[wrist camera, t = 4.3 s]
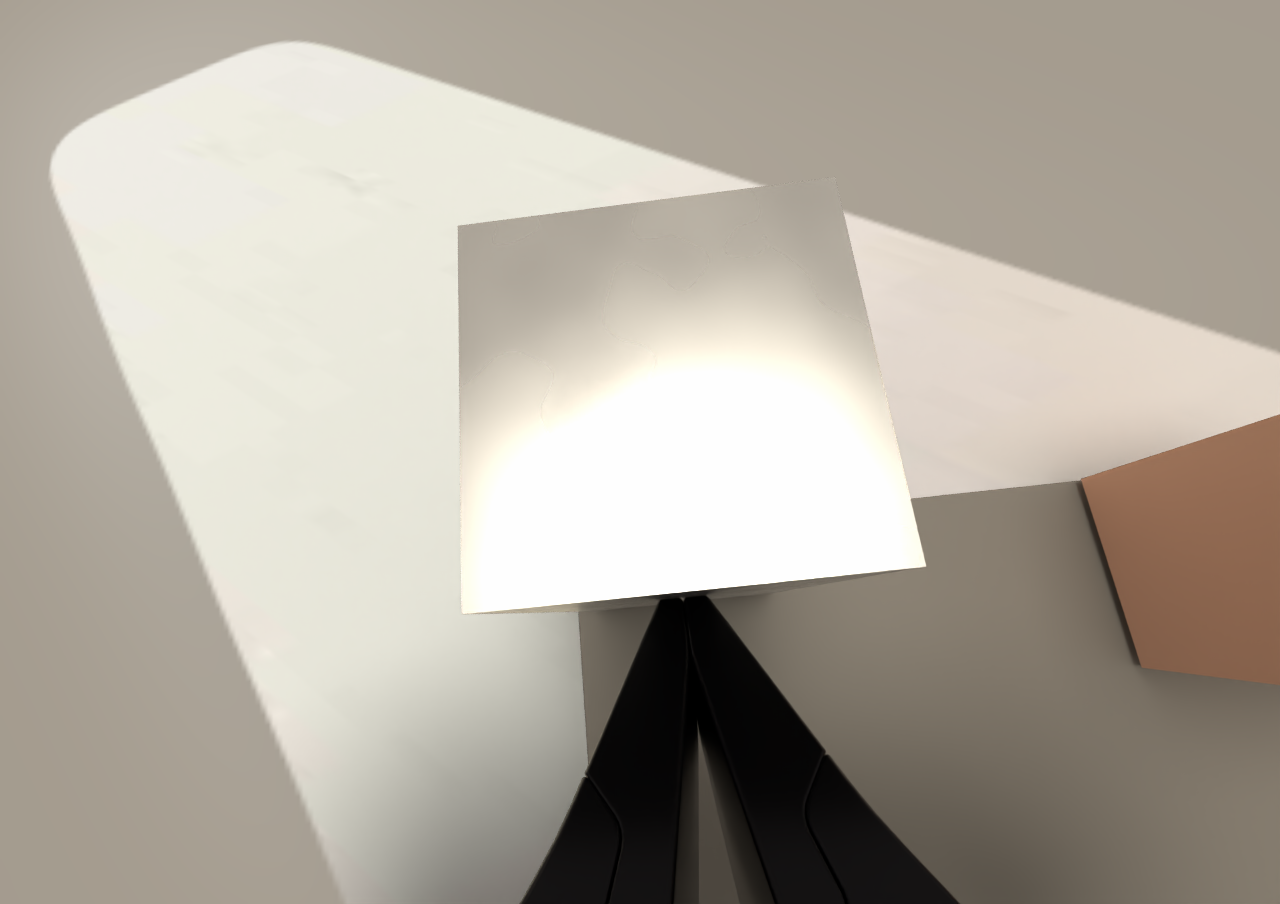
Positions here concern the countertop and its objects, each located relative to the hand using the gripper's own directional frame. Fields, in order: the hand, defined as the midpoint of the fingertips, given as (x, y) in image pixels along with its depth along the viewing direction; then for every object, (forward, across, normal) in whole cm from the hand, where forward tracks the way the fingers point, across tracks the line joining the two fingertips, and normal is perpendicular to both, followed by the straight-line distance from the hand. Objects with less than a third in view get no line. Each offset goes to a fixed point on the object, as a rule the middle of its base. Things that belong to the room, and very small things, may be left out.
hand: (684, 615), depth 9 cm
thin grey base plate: (+3, -7, +8) cm, 11 cm away
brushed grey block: (+6, 0, +3) cm, 7 cm away
